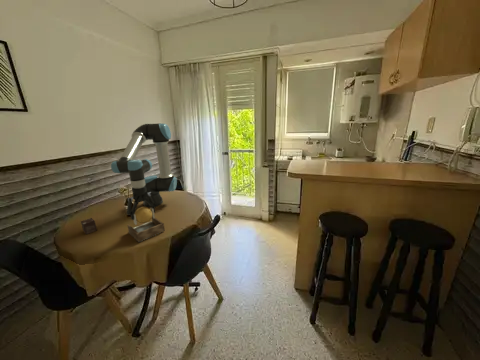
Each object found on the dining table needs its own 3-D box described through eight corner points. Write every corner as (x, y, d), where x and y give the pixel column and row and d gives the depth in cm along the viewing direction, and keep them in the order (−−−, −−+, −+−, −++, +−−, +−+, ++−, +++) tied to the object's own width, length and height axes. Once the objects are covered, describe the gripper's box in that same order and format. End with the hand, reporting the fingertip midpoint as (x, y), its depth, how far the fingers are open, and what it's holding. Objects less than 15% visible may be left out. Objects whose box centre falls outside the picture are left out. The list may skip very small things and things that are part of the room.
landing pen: (153, 223, 138) (152, 215, 136) (164, 231, 127) (163, 223, 125) (128, 232, 127) (127, 224, 125) (138, 242, 116) (137, 234, 114)
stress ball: (134, 226, 122) (136, 221, 115) (132, 211, 126) (134, 205, 118) (151, 224, 128) (154, 218, 121) (149, 209, 131) (152, 203, 124)
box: (94, 227, 134) (91, 217, 131) (97, 230, 130) (94, 220, 128) (83, 231, 129) (80, 221, 127) (86, 234, 125) (83, 224, 123)
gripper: (154, 180, 128) (159, 212, 135) (115, 190, 113) (122, 225, 119) (160, 183, 123) (164, 216, 130) (119, 193, 108) (127, 230, 114)
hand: (144, 220), depth 124 cm, fingers closed on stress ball, 10 cm apart
